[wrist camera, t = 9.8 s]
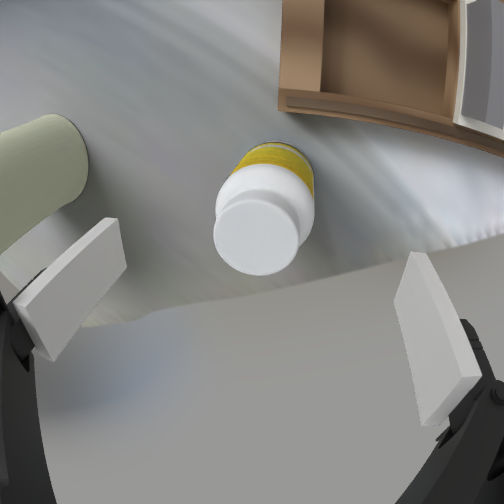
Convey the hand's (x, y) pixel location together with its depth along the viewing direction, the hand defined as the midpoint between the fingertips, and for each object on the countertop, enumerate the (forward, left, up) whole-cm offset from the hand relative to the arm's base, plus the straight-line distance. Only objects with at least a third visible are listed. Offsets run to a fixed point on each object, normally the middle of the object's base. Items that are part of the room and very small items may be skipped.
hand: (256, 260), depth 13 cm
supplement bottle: (0, 0, -11) cm, 11 cm away
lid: (-11, +16, -9) cm, 22 cm away
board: (-12, +11, -11) cm, 20 cm away
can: (-1, -21, -11) cm, 24 cm away
